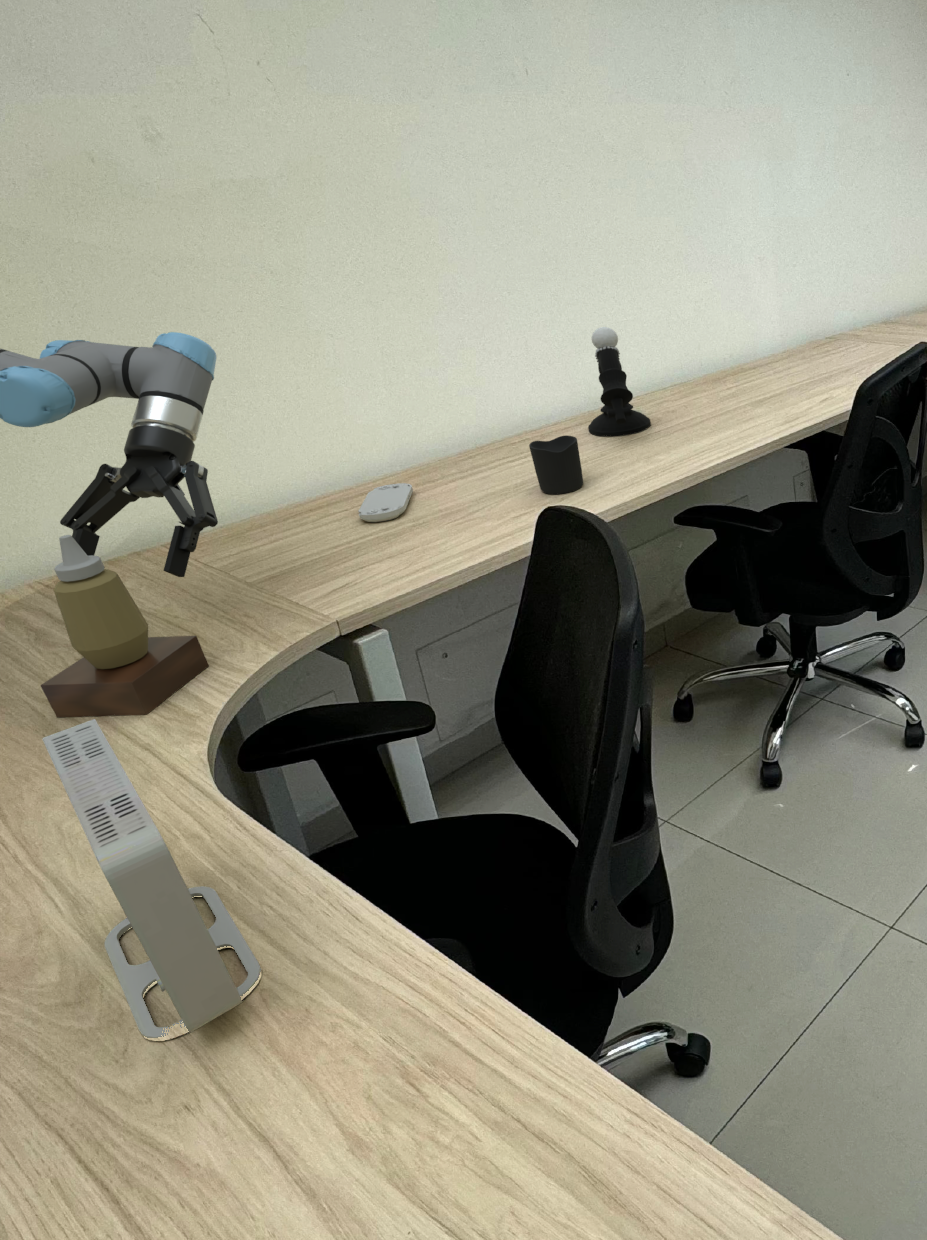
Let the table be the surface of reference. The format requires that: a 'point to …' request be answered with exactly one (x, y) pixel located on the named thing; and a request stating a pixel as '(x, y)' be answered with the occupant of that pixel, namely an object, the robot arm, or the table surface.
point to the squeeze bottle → (98, 610)
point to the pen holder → (557, 464)
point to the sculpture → (614, 391)
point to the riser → (127, 681)
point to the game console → (385, 502)
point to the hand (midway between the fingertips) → (124, 575)
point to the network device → (148, 890)
